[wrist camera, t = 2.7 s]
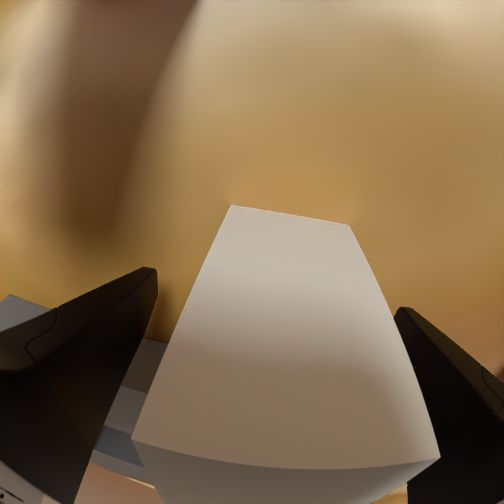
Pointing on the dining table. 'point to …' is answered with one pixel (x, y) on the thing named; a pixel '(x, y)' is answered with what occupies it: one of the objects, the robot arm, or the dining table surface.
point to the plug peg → (284, 376)
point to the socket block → (126, 401)
